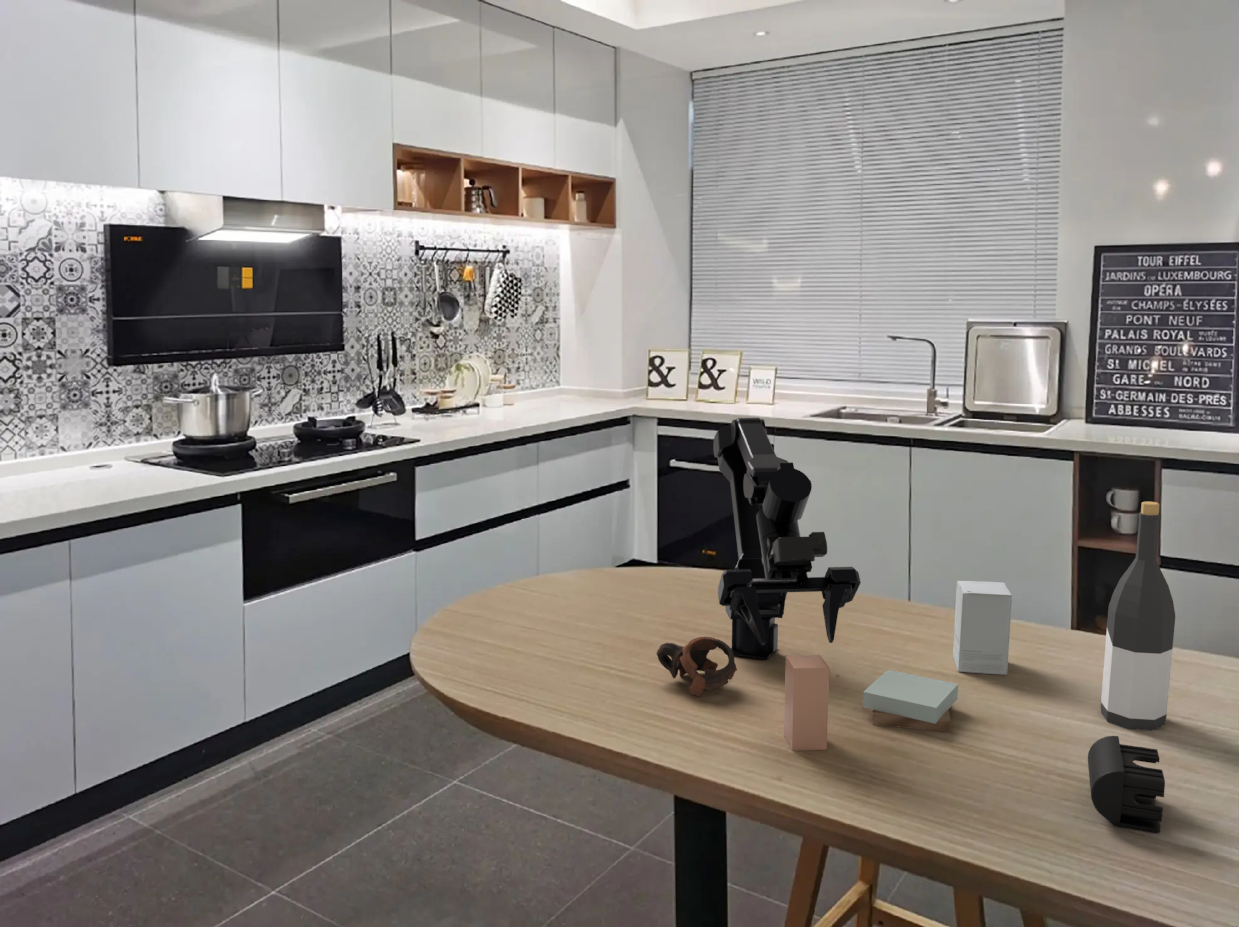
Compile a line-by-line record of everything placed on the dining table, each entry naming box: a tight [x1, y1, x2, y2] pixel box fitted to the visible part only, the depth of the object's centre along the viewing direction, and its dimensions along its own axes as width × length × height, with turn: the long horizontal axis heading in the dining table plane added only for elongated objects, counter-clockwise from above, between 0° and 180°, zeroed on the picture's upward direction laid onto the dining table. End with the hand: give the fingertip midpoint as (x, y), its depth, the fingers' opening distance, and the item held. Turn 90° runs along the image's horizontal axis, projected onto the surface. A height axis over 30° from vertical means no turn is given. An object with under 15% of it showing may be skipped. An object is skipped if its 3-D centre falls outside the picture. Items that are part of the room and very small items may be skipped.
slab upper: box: [862, 669, 959, 724], centre depth 145 cm, size 10×10×2 cm
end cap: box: [1087, 735, 1166, 834], centre depth 119 cm, size 10×7×7 cm
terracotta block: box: [783, 654, 830, 752], centre depth 136 cm, size 4×4×11 cm
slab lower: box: [872, 708, 951, 732], centre depth 146 cm, size 10×10×2 cm
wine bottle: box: [1100, 500, 1176, 731], centre depth 141 cm, size 8×8×30 cm
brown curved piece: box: [656, 636, 738, 697], centre depth 156 cm, size 12×10×8 cm
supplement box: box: [952, 580, 1013, 676], centre depth 163 cm, size 7×7×13 cm
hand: (797, 642), depth 140 cm, fingers open, 9 cm apart
